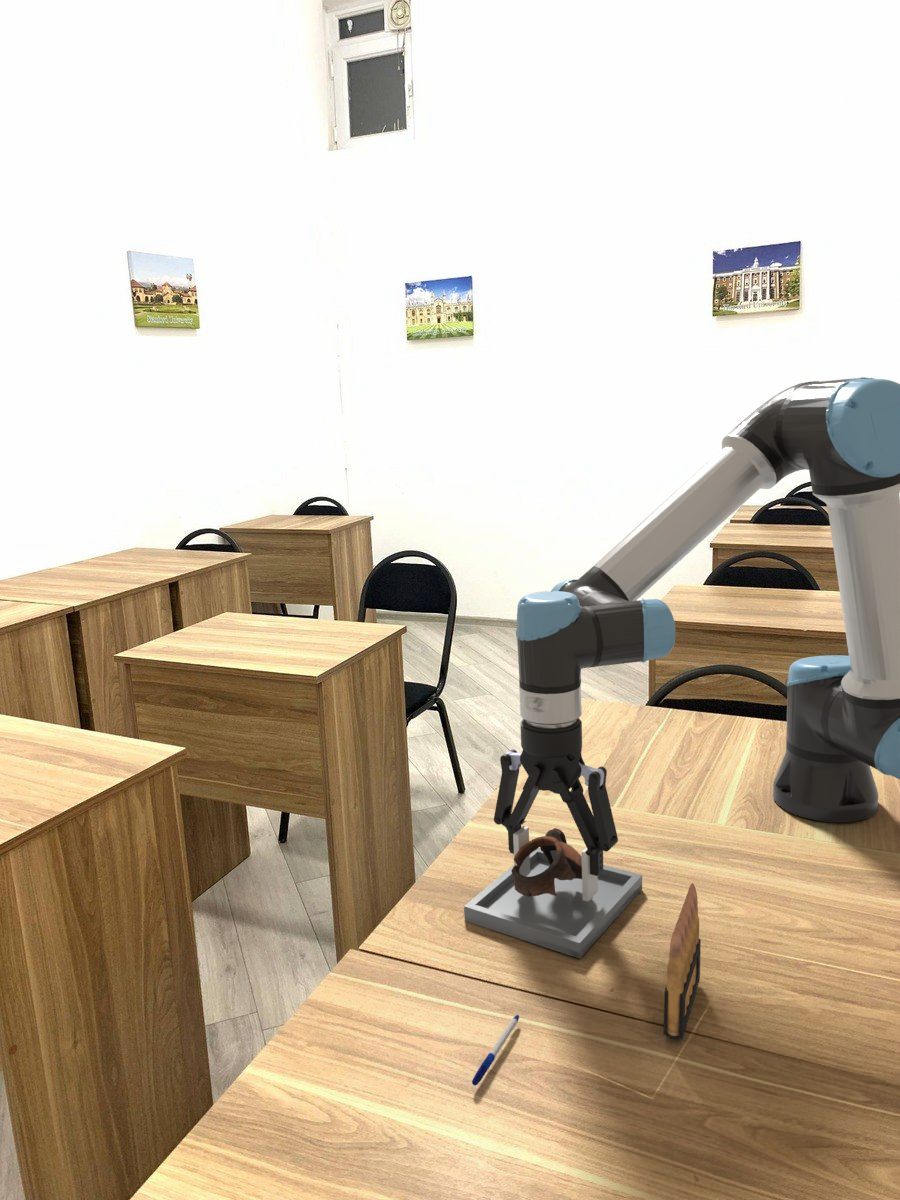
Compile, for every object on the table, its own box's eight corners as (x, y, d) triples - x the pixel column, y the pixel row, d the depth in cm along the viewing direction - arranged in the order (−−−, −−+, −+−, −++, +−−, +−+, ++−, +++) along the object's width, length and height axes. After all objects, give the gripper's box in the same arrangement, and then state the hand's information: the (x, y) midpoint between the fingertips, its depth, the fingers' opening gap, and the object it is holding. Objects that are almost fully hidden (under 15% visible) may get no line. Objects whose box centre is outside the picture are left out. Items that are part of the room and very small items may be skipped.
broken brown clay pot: (602, 915, 113) (570, 870, 110) (533, 939, 116) (501, 896, 112) (596, 845, 123) (567, 802, 120) (533, 868, 126) (504, 827, 123)
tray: (642, 889, 121) (642, 875, 120) (579, 958, 106) (579, 943, 106) (535, 860, 130) (535, 846, 129) (464, 920, 115) (464, 906, 115)
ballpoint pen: (479, 1088, 87) (479, 1079, 87) (470, 1086, 88) (470, 1077, 87) (520, 1020, 96) (520, 1011, 96) (512, 1017, 97) (512, 1009, 97)
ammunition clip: (681, 1041, 92) (684, 935, 90) (663, 1036, 93) (665, 931, 90) (699, 978, 102) (702, 880, 99) (682, 974, 103) (685, 877, 100)
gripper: (460, 714, 116) (468, 878, 121) (620, 742, 104) (622, 923, 108) (491, 697, 122) (498, 854, 127) (646, 722, 110) (647, 894, 114)
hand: (555, 885), depth 118 cm, fingers closed on broken brown clay pot, 9 cm apart
